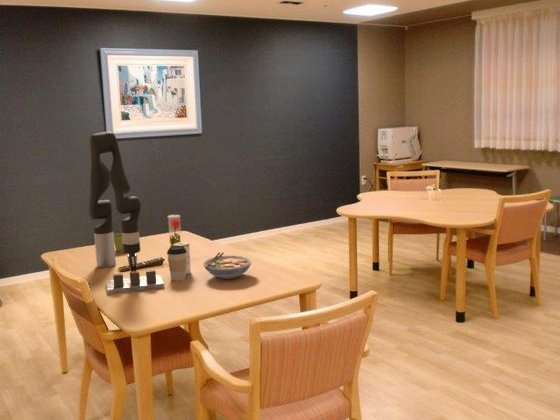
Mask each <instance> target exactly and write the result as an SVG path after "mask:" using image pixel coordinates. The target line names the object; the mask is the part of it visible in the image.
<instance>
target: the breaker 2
mask: <svg viewBox="0 0 560 420" xmlns="http://www.w3.org/2000/svg"><path fill="white" fill-rule="evenodd" d="M156 275H157V272H156V269H148V270H145V276H146V281H147V283H151V282H156Z"/></svg>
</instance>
